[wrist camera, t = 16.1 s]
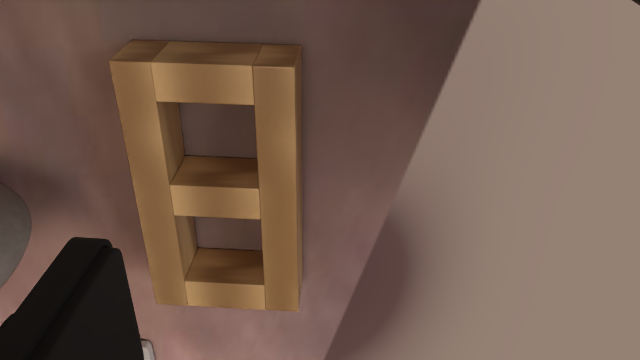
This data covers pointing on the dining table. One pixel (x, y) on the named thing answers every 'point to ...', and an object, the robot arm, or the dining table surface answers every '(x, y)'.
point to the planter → (12, 231)
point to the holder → (215, 169)
